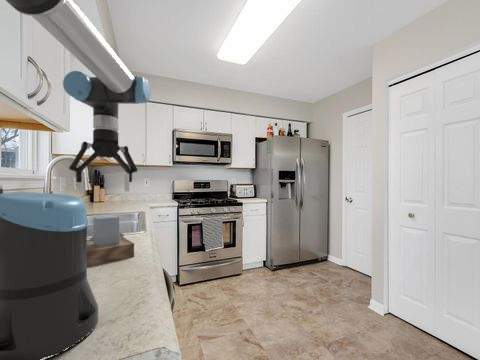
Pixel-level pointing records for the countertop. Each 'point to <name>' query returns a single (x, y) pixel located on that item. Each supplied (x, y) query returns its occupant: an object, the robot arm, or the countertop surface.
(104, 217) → the slate block
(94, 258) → the walnut block
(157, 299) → the countertop surface
